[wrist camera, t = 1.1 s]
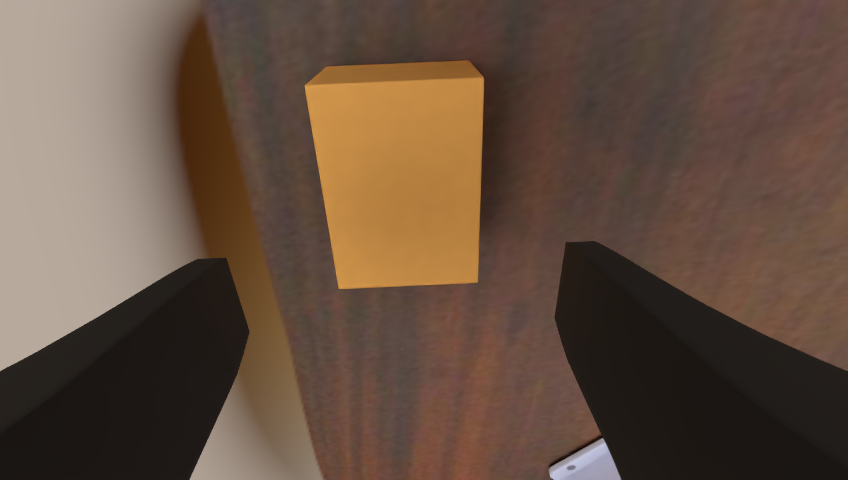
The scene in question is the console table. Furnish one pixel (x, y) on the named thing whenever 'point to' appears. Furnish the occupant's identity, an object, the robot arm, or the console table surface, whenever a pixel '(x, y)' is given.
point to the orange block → (400, 170)
